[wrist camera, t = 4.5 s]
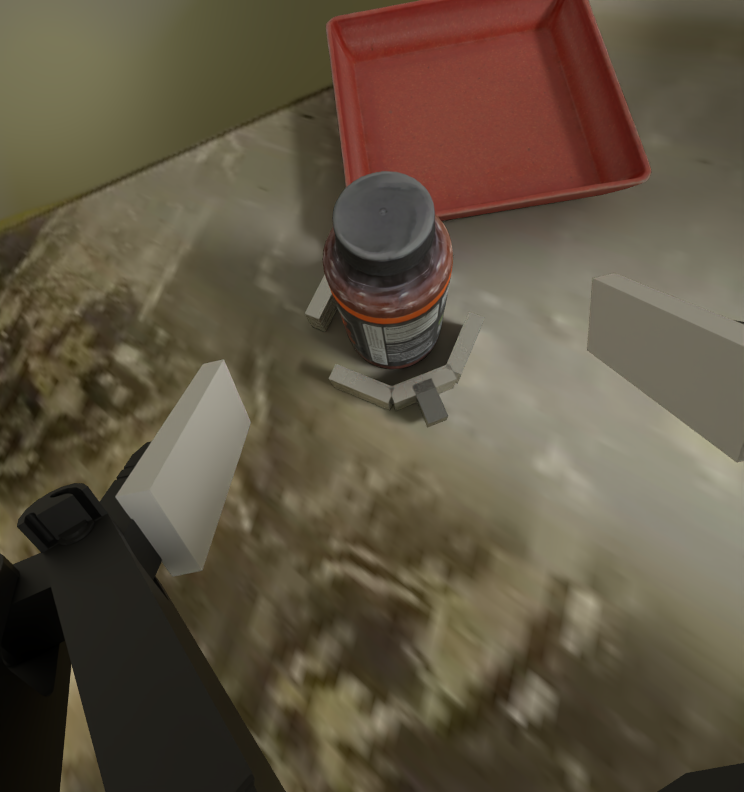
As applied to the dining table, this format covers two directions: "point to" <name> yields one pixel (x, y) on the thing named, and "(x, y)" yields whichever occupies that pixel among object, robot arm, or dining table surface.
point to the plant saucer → (483, 102)
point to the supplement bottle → (389, 268)
